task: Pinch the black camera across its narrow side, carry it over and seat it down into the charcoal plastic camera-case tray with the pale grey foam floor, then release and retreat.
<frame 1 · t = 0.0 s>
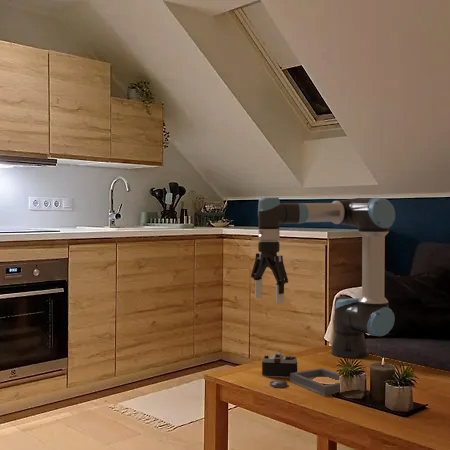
hand: (268, 300, 217), 28 cm above the table, fingers open, 13 cm apart
camera: (279, 375, 223), on the table
case tray: (323, 385, 209), on the table
lens cap: (278, 386, 209), on the table
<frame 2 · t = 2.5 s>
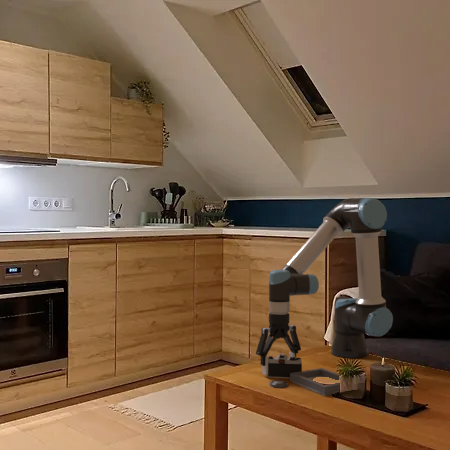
hand: (278, 372, 223), 1 cm above the table, fingers open, 11 cm apart
camera: (284, 376, 221), on the table, touching gripper
everything else where it was.
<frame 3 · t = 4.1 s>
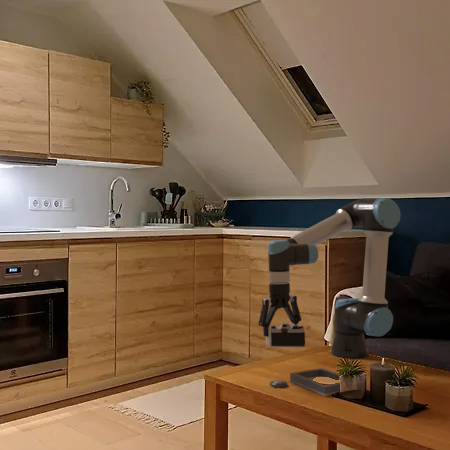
hand: (280, 343, 223), 12 cm above the table, fingers closed on camera, 10 cm apart
camera: (287, 345, 222), point 11 cm above the table, touching gripper
everything else where it was.
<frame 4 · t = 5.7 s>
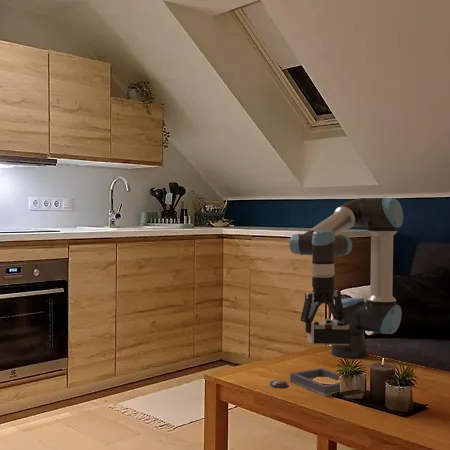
hand: (323, 340, 208), 16 cm above the table, fingers closed on camera, 10 cm apart
camera: (330, 343, 207), point 15 cm above the table, touching gripper
everything else where it was.
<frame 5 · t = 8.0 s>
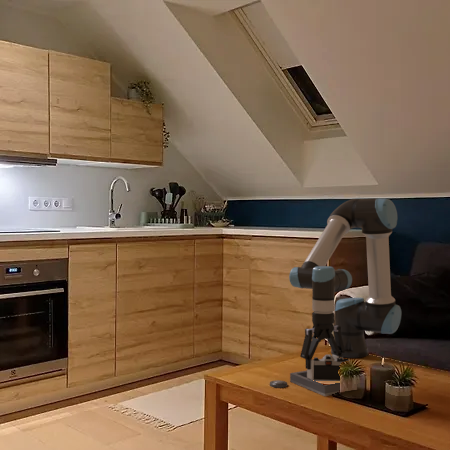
hand: (322, 376, 209), 3 cm above the table, fingers closed on camera, 10 cm apart
camera: (330, 378, 208), point 3 cm above the table, touching case tray, gripper
everything else where it was.
when the fingers open (3 cm above the table, at t = 8.5 s): camera drops 1 cm, resting on case tray.
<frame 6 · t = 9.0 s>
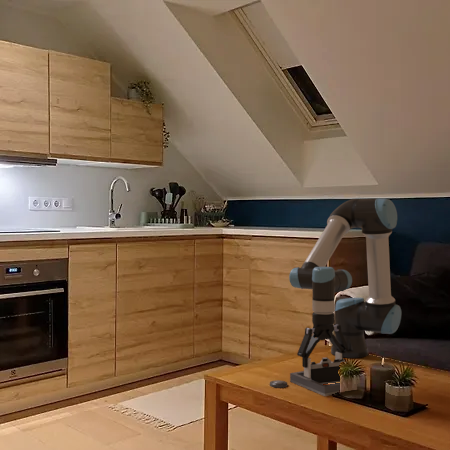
hand: (323, 374, 209), 4 cm above the table, fingers open, 13 cm apart
camera: (330, 382, 208), point 1 cm above the table, touching case tray
everything else where it was.
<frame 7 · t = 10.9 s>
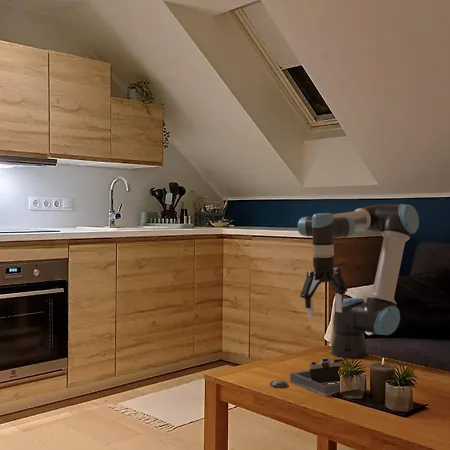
hand: (324, 314, 221), 22 cm above the table, fingers open, 13 cm apart
nothing on the table moved.
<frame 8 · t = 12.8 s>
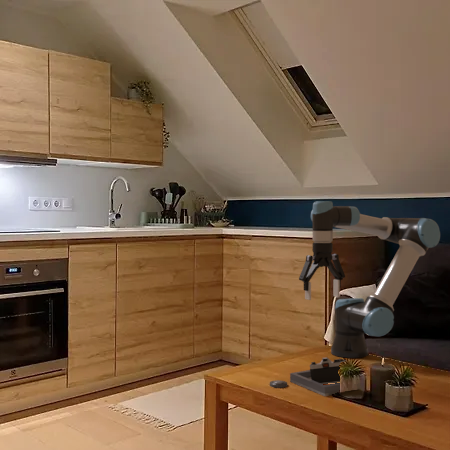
hand: (322, 298, 231), 27 cm above the table, fingers open, 13 cm apart
nothing on the table moved.
at the end: camera 2.8 cm from the case tray (horizontally); camera point 1.5 cm above the table; camera tilted 13° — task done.
